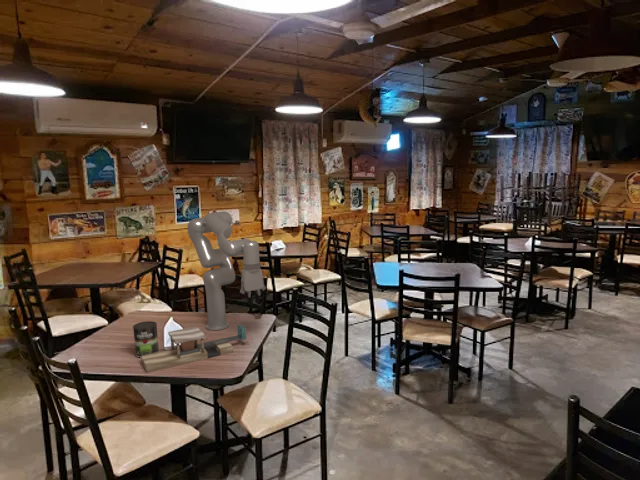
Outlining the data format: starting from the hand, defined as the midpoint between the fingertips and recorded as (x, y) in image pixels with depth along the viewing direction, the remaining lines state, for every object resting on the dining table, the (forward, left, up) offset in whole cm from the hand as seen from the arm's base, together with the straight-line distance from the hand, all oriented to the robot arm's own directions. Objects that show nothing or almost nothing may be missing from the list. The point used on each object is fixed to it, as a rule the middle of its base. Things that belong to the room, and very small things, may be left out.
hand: (253, 303), depth 219 cm
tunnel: (0, -33, -19) cm, 38 cm away
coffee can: (-15, -48, -19) cm, 54 cm away
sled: (0, -22, -16) cm, 27 cm away
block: (0, -33, -16) cm, 37 cm away
